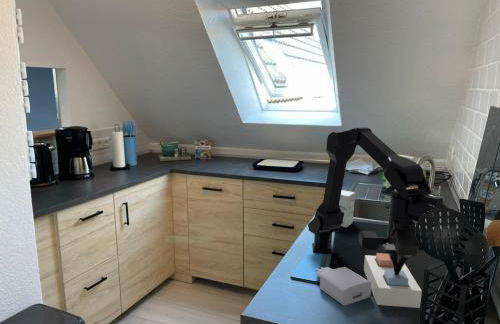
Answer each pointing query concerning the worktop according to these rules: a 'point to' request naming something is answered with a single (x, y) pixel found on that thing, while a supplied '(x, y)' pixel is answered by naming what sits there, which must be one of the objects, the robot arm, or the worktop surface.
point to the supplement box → (347, 207)
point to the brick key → (383, 260)
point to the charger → (344, 285)
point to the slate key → (395, 278)
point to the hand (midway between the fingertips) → (396, 274)
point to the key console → (391, 293)
